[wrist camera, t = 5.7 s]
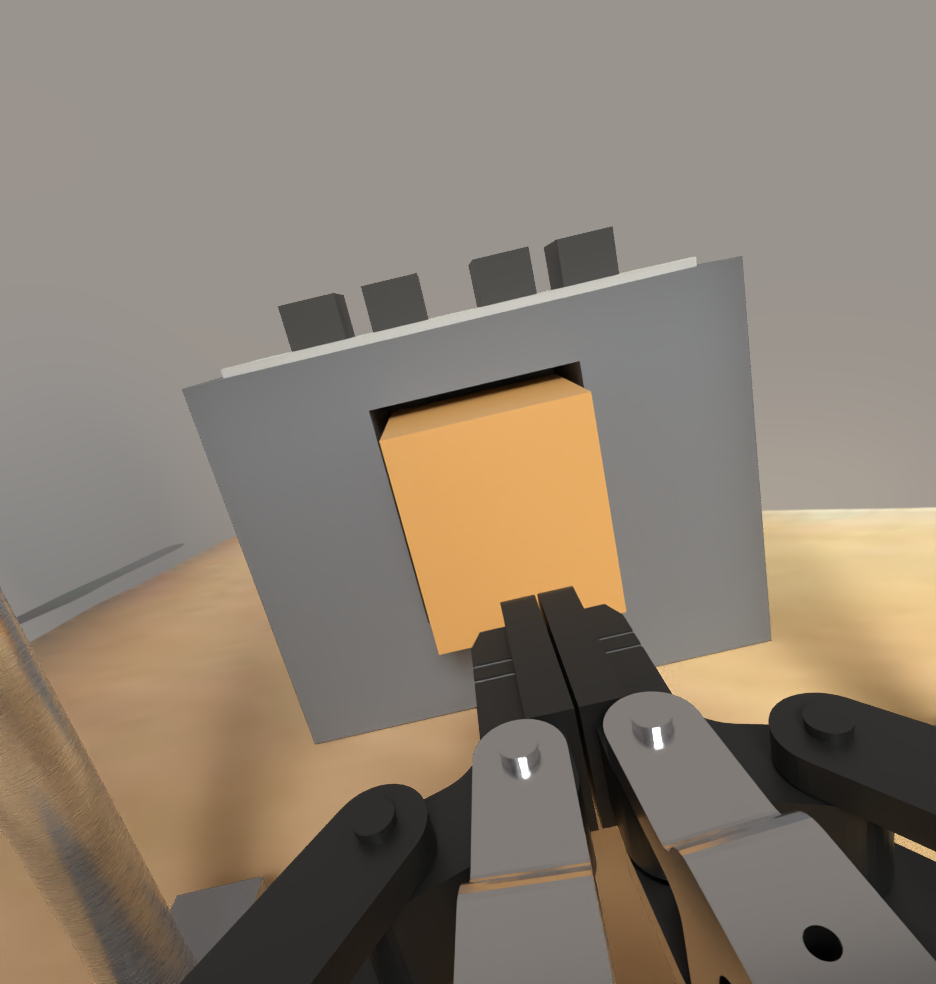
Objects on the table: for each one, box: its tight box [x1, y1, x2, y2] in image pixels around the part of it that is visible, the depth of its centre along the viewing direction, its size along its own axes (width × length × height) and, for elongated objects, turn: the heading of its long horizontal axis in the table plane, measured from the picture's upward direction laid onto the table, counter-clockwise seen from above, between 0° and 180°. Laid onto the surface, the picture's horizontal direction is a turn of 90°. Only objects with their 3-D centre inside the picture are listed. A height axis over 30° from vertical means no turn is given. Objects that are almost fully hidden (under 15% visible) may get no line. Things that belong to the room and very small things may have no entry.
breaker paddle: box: [379, 374, 626, 655], centre depth 19 cm, size 6×5×7 cm
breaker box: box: [182, 227, 771, 744], centre depth 24 cm, size 18×8×16 cm, turn 94°
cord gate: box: [0, 588, 936, 984], centre depth 9 cm, size 22×6×25 cm, turn 94°
